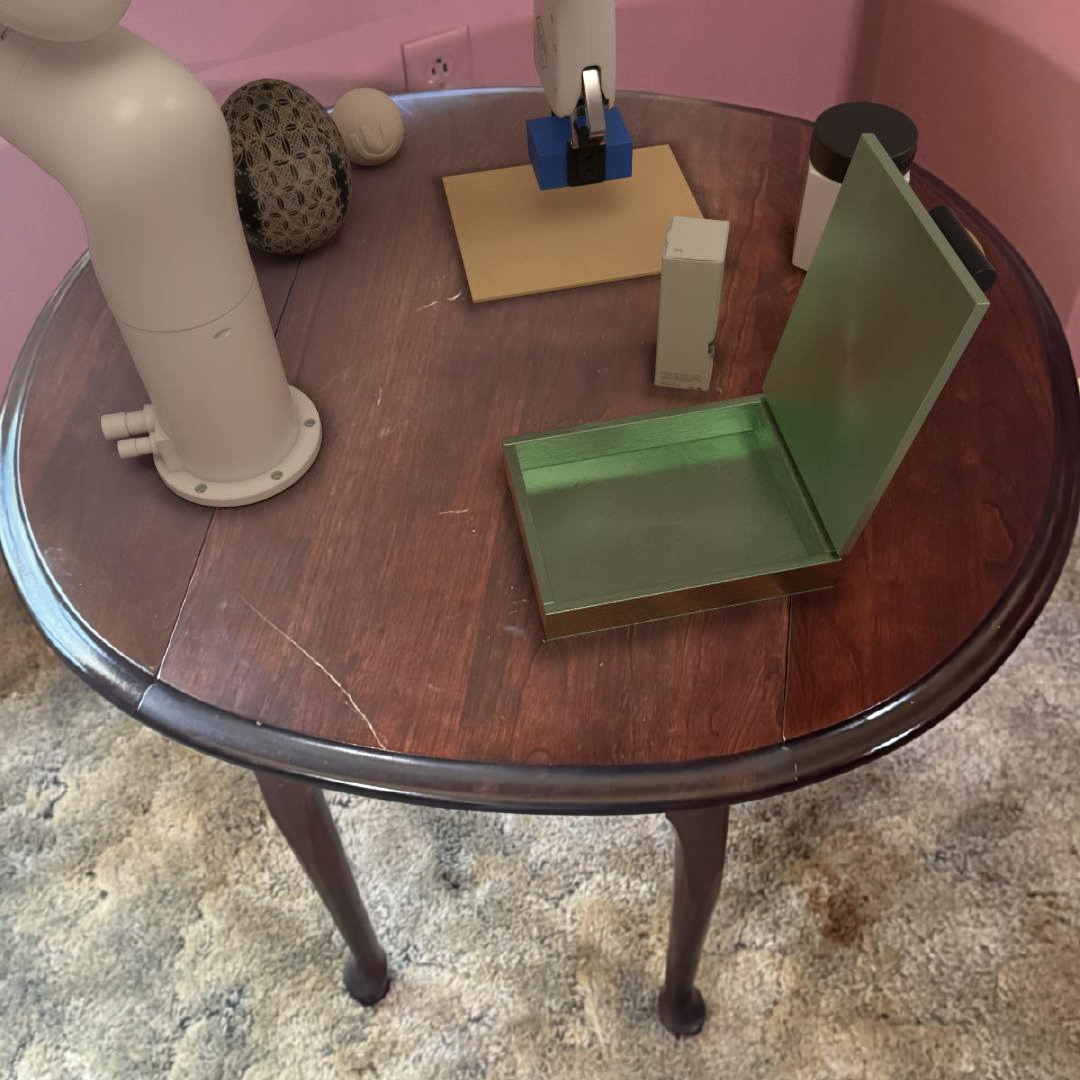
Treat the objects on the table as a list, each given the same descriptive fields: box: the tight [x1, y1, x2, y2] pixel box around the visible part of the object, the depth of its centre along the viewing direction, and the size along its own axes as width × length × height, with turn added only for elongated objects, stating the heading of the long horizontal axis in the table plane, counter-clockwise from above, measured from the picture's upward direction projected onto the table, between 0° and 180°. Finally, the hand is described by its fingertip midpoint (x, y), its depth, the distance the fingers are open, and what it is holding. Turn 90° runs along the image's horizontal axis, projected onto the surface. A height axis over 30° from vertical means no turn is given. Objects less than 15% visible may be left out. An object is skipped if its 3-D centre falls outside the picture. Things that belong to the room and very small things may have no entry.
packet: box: [525, 106, 634, 191], centre depth 95 cm, size 8×6×3 cm
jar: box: [791, 101, 920, 272], centre depth 92 cm, size 9×8×12 cm
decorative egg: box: [220, 78, 353, 256], centre depth 94 cm, size 12×12×15 cm
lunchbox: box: [501, 392, 842, 642], centre depth 77 cm, size 20×16×4 cm
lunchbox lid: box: [761, 133, 998, 556], centre depth 69 cm, size 20×16×5 cm
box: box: [653, 216, 730, 391], centre depth 83 cm, size 5×4×13 cm
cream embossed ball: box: [330, 87, 405, 167], centre depth 105 cm, size 7×7×7 cm
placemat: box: [441, 143, 705, 304], centre depth 100 cm, size 22×18×1 cm
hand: (578, 159), depth 96 cm, fingers closed on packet, 5 cm apart
